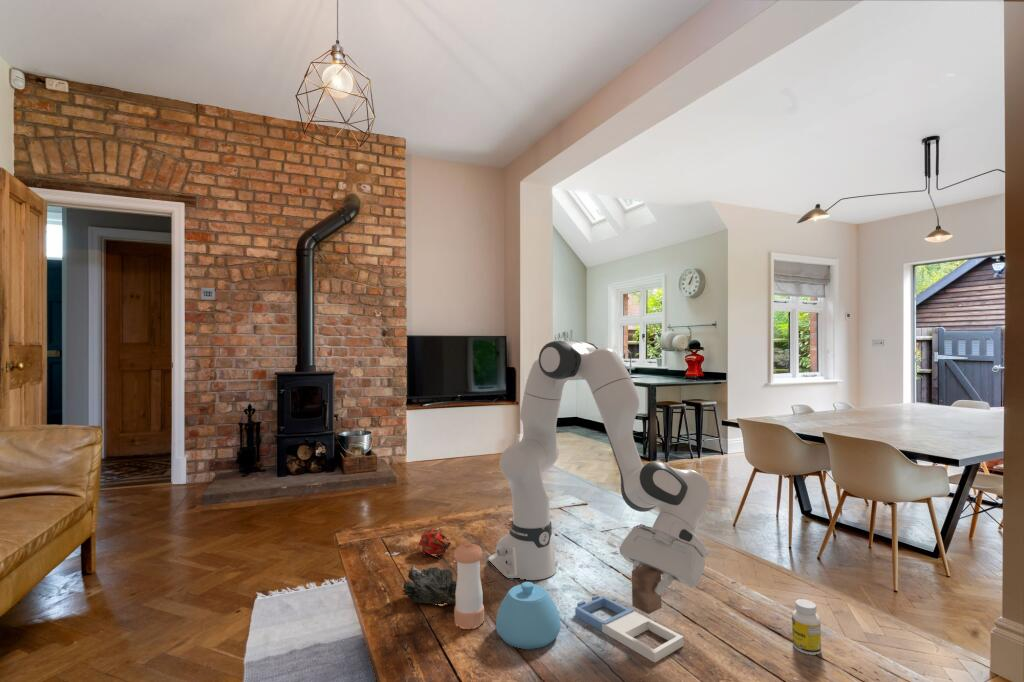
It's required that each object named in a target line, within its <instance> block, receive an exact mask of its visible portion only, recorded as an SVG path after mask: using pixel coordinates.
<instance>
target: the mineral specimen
mask: <svg viewBox="0 0 1024 682" xmlns="http://www.w3.org/2000/svg"><path fill="white" fill-rule="evenodd" d="M453 574H454V573H453V572H452V570H450V569H446V568H444V569H441V568H439V567H437V566H432V567H429V568H426V569H425V568H424V569H418V568H416V567H415V566H414V565H412V566H411V567H410V569H409V570H408V574H407V577H408V579H409V580H407V581H405V582H404V584H403V590H402V592H404V593H403V596H407V597H408V598H409V600H410V601H412V602H414V603H419V604H428V603H431V604H432V605H434V604H437V605H438V604H444V603H447V604H449V605H450V604H451V603H452V604H456V596H455V592H456V585H457V580H454V578H453Z"/></svg>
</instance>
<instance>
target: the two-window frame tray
mask: <svg viewBox="0 0 1024 682" xmlns="http://www.w3.org/2000/svg"><path fill="white" fill-rule="evenodd" d="M604 607H605V608H606V609H609V610H610V611H612V612H614V613H616V615H614V616H611V617H609V618H607V619H605V620H603V619H601V618H599V617H597V616H596V615H594V614H593V613H591V612H594V611H596V610H599V609H601V608H604ZM574 611H575V613H574V614H575V617H577V618H578V619H580V620H582V621H583V622H585V623H586V624H588V625H590V626H592V627H594V628H595V629H596V630H598V631H600V632H602V633H604V634H605V635H607V636H609V637H610V638H611V639H614V640H616V642H617V641H618V642H619V643H621V644H623V645H624V646H626V647H628V648H629V649H631V650H632V651H634V652H636V653H637V654H638V655H639V654H640V655H641V656H643V657H645V658H646V659H648V660H650V661H651V662H652V663H657V662H659V661H661V660H662V659H664V658H665V657H667V656H669V655H670V654H672V653H674V652H676V651H678V650H679V649H681V648H682V647H684V646H685V641H684V639H685V637H684V636H683V635H681V634H679V633H678V632H675V631H673V630H672V629H670V628H668V627H666V626H664V625H661V624H660V623H658V622H656V621H654V620H652V619H650V618H648V617H647V616H644V615H643V614H640V613H638V612H636V611H635V609H633V608H629V607H627V606H625V605H622V604H621V603H619V602H617V601H615V600H614V599H611V598H609V597H608V596H605V595H601V596H600V595H599V594H595V595H593V596H591V601H587V602H586V601H585V600H581V601H579V602H577V606H576V607H574ZM646 631H650V632H652V633H653V634H655V635H657V636H659V637H661V638H663V639H664V640H666V642H664V643H662V644H661V645H659V646H657V647H656V648H652V647H651V646H650V645H647V644H646V643H644V642H642V641H641V640H639V639H637V638H635V637H636V636H637V637H638V636H639V635H641V634H643V633H644V632H646Z"/></svg>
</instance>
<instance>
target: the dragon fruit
mask: <svg viewBox="0 0 1024 682" xmlns="http://www.w3.org/2000/svg"><path fill="white" fill-rule="evenodd" d="M418 546H419V547H421V546H422V547H421V550H422V553H423V554H424V553H427V554H428V555H430V554H440V555H441V554H446V553H447V551H448V549H449V547H450V546H451V541H449V539H448V538H447V536H446V535H445V534H443V533H442V531H441V530H439V529H438V530H437V529H436V528H430V529H427V530H425V531H424V533H422V535H421V536H420V540H419V542H418Z"/></svg>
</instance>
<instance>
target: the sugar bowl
mask: <svg viewBox="0 0 1024 682" xmlns="http://www.w3.org/2000/svg"><path fill="white" fill-rule="evenodd" d="M559 613H560V612H559V610H558V607H557V605H556V604H555V602H554V599H553V598H552V597H551V595H550V593H549V592H548V591H547V589H545V588H544V587H543V586H541V585H538V584H536V583H535V584H534V583H533V582H532V581H524V582H522V583H521V584H517V585H515V586H513V587H512V588H510V589H509V590H508V591H507V593H506V594H505V596H504V598H503V599H502V601H501V603H500V605H499V607H498V611H497V615H496V617H495V618H496V620H495V629H496V632H497V634H498V636H500V638H501V640H502V641H504V642H505V643H506V644H507V643H508V644H507V645H509V646H510V647H513V646H514V647H513V648H516V647H517V648H516V649H519V648H521V649H522V650H536V649H535V648H537V649H541V648H544V647H546V646H548V645H550V644H551V643H552V642H553V641H554V640H555V639H556V638H557V637H558V635H559V634H560V632H561V628H562V627H561V616H560V614H559ZM540 647H541V648H540ZM521 649H520V650H521Z"/></svg>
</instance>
